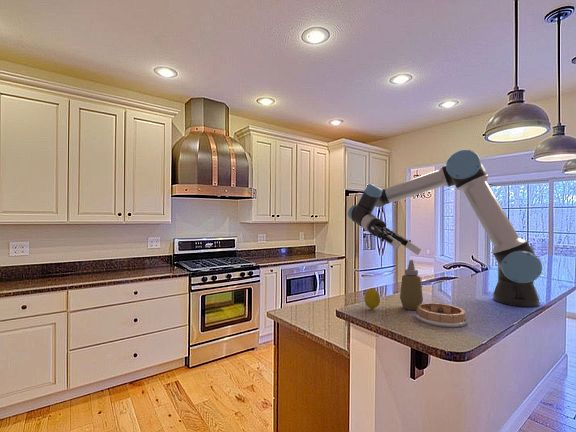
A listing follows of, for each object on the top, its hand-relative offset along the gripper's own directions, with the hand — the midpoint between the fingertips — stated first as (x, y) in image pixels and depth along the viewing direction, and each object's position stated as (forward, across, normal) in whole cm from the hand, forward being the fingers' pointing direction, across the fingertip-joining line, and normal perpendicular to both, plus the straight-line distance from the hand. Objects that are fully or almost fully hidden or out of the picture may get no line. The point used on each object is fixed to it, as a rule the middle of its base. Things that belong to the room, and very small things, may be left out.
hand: (409, 249), depth 121 cm
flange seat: (+25, +3, -13) cm, 28 cm away
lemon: (+7, +12, -24) cm, 28 cm away
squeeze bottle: (+13, -1, -19) cm, 22 cm away
